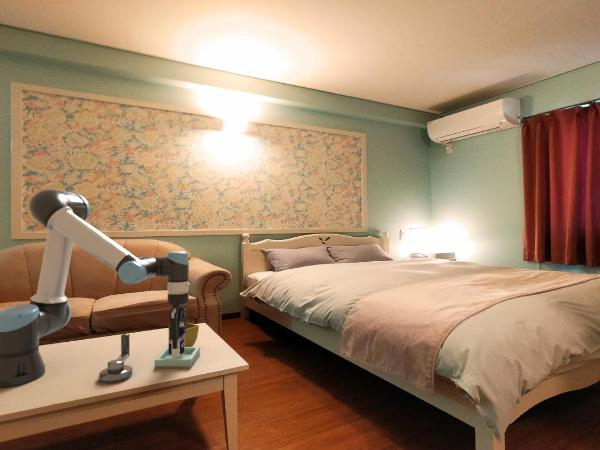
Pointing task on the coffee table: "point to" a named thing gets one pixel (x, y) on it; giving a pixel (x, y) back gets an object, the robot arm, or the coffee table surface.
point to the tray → (178, 358)
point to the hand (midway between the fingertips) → (178, 353)
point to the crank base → (115, 375)
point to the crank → (118, 363)
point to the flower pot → (191, 334)
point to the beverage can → (181, 337)
